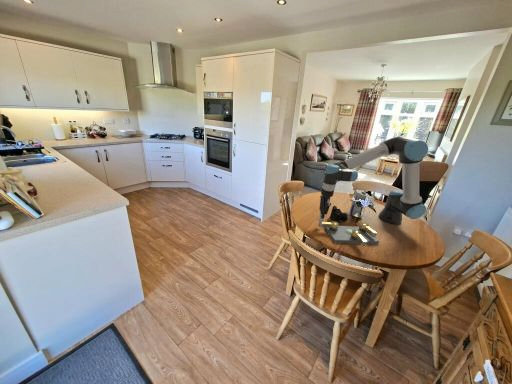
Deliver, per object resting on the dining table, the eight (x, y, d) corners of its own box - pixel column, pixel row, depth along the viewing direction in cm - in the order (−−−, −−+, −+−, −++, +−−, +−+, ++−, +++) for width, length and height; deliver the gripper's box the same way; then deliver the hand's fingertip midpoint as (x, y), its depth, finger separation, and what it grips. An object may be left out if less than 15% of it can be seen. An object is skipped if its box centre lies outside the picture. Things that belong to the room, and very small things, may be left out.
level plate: (364, 229, 142) (365, 225, 141) (378, 243, 127) (379, 239, 126) (324, 228, 140) (325, 224, 139) (334, 242, 125) (335, 238, 124)
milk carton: (349, 212, 165) (356, 188, 157) (358, 214, 163) (365, 190, 155) (350, 216, 158) (357, 192, 151) (359, 218, 156) (367, 193, 149)
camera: (348, 227, 143) (352, 215, 139) (332, 225, 144) (335, 213, 140) (343, 217, 155) (346, 205, 151) (328, 215, 156) (331, 204, 152)
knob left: (349, 234, 130) (350, 229, 129) (356, 235, 130) (358, 229, 129) (359, 247, 119) (361, 241, 117) (367, 247, 119) (369, 241, 117)
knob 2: (357, 227, 139) (358, 222, 137) (363, 227, 140) (365, 222, 138) (370, 238, 128) (372, 233, 126) (377, 238, 129) (379, 232, 127)
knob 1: (335, 226, 138) (337, 221, 136) (338, 230, 133) (340, 225, 132) (317, 226, 137) (318, 220, 135) (320, 230, 132) (321, 224, 131)
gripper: (318, 185, 136) (312, 216, 145) (325, 193, 124) (318, 226, 133) (329, 185, 137) (322, 216, 146) (338, 193, 125) (329, 227, 134)
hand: (320, 221), depth 140 cm, fingers closed
